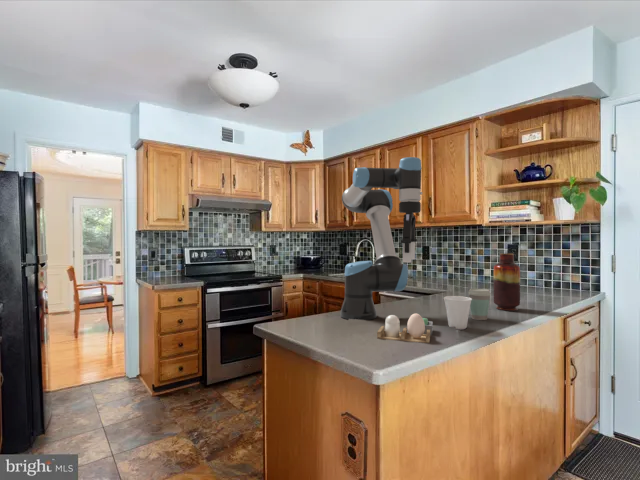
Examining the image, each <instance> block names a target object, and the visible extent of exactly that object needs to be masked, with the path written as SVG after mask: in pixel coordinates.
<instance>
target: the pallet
mask: <svg viewBox="0 0 640 480" xmlns="http://www.w3.org/2000/svg"><path fill="white" fill-rule="evenodd" d="M376 334H377V335H376V338H377V339H380V340H391V341H403V342H412V343H422V344H423V343H424V344H430V342H431V341H430V340H431V335H430V330H427V333H426V334H423V335H422V336H421V337H420V338H413V337H412V336H411V335H410V334H409V332H408V329H407V327H403V329H402V331H400V337H398V338H391V337H386V336H385V325H381V326H380V327H379V329H378V330H377V332H376Z"/></svg>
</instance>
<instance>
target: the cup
mask: <svg viewBox="0 0 640 480" xmlns="http://www.w3.org/2000/svg"><path fill="white" fill-rule="evenodd" d="M443 299H444V305H445V311H446V316H447V324H448V327H450V328H455V330H465V329H466V328H467V327H468V321H469V316H470V311H471V308H470V305H471V300H472V299H471V298H469V297H468V296H462V295H461V296H459V295H447V296H444V297H443Z"/></svg>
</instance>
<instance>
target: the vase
mask: <svg viewBox="0 0 640 480" xmlns="http://www.w3.org/2000/svg"><path fill="white" fill-rule="evenodd" d="M493 304H495V305H496V306H495V309H496V310H497V311H503V312H517V311H518V308H517V307H518V306H520V305H521V267H520V266H519V264H517V263H515V254H514V253H500V254H499V262H497V263H496V264H494V265H493Z"/></svg>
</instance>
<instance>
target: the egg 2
mask: <svg viewBox="0 0 640 480" xmlns="http://www.w3.org/2000/svg"><path fill="white" fill-rule="evenodd" d="M423 318H424V317H422V316H421V315H420V314H419V313H413V314H411V315H410V316H409V318H408V320H407V325H406V328H407V333H409V334H410V335H411V336H412V337H413V338H420V337H421V336H422V335H423V333H424V331H425V323H424V320H423Z"/></svg>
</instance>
